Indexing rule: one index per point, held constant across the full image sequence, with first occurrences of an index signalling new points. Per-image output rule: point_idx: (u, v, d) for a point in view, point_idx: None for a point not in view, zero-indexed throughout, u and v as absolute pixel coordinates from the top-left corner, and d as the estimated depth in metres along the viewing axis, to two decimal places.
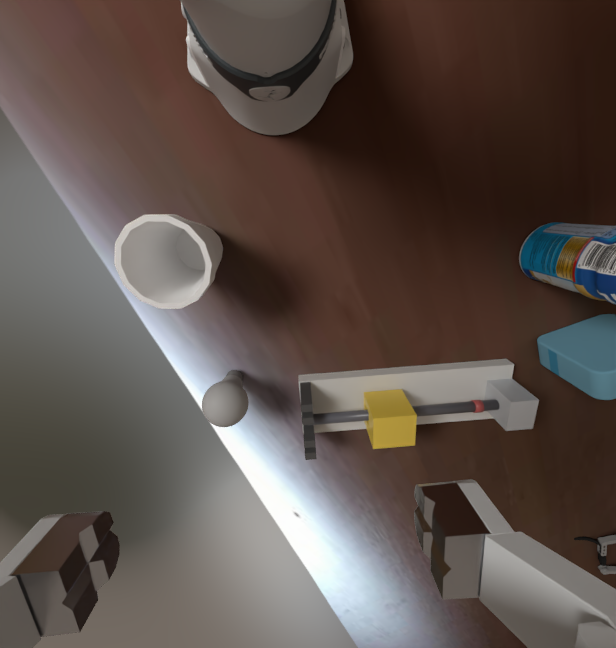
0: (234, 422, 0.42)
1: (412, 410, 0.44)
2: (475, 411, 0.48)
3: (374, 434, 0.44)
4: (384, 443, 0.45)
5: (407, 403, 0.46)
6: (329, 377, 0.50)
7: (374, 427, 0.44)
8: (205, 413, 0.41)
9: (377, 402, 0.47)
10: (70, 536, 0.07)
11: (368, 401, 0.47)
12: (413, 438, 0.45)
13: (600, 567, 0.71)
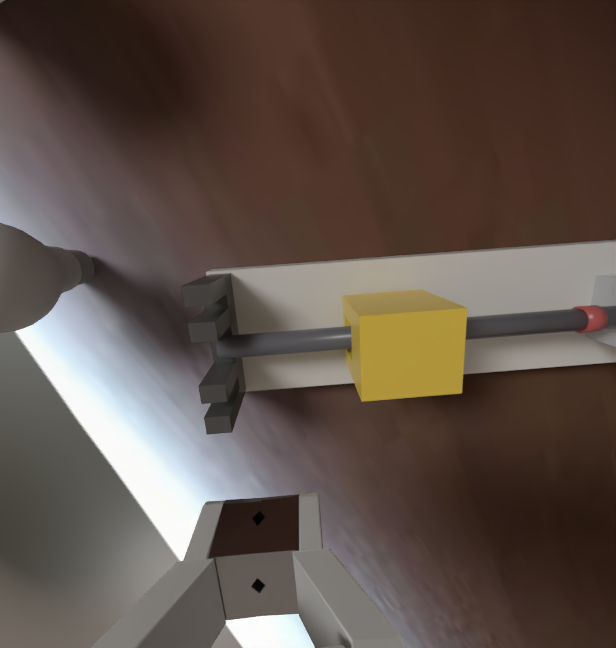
0: None
1: (453, 304, 0.18)
2: (587, 327, 0.22)
3: (363, 361, 0.18)
4: (388, 387, 0.18)
5: (439, 298, 0.20)
6: (271, 266, 0.24)
7: (362, 341, 0.18)
8: None
9: (371, 301, 0.21)
10: (245, 521, 0.07)
11: (350, 301, 0.21)
12: (458, 374, 0.18)
13: None
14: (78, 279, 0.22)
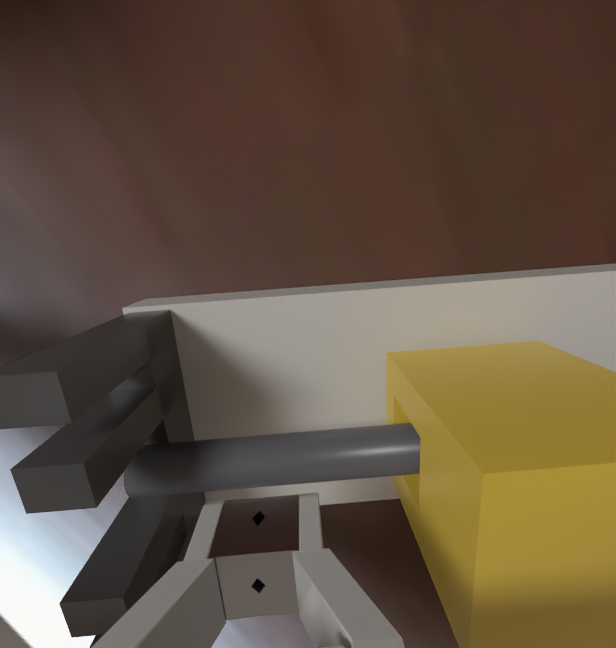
0: None
1: None
2: None
3: (481, 582, 0.07)
4: (540, 635, 0.07)
5: None
6: (250, 296, 0.13)
7: (485, 536, 0.06)
8: None
9: (463, 383, 0.09)
10: (245, 521, 0.07)
11: (415, 380, 0.10)
12: None
13: None
14: None
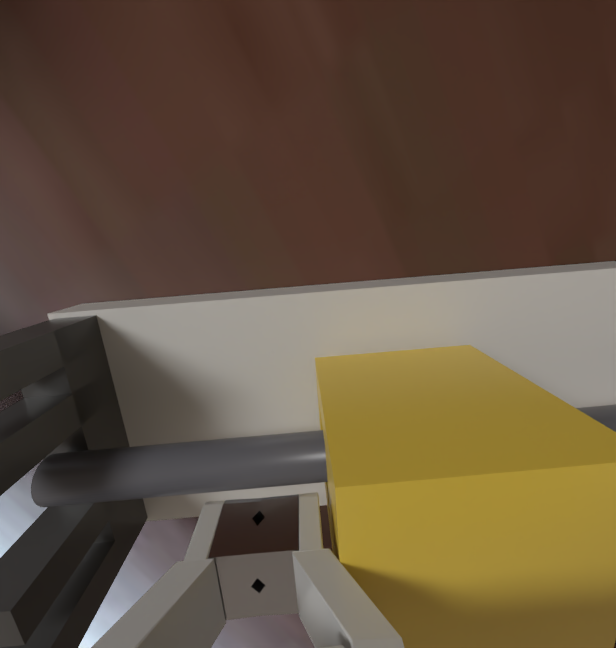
0: None
1: (594, 426, 0.07)
2: None
3: None
4: None
5: (531, 390, 0.09)
6: (180, 301, 0.13)
7: (347, 551, 0.06)
8: None
9: (371, 389, 0.09)
10: (245, 521, 0.07)
11: (326, 387, 0.10)
12: (609, 615, 0.07)
13: None
14: None
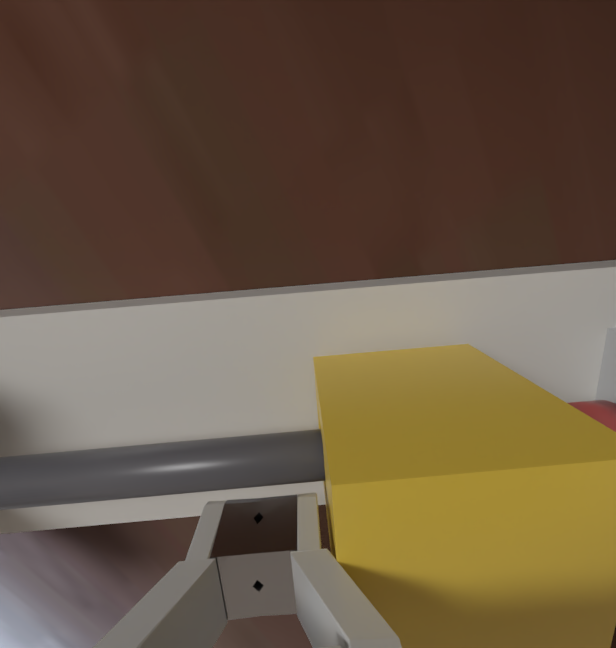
0: None
1: (591, 424, 0.07)
2: None
3: None
4: (416, 647, 0.07)
5: (529, 389, 0.09)
6: None
7: (343, 549, 0.06)
8: None
9: (369, 388, 0.09)
10: (246, 521, 0.07)
11: (324, 385, 0.10)
12: (606, 614, 0.07)
13: None
14: None
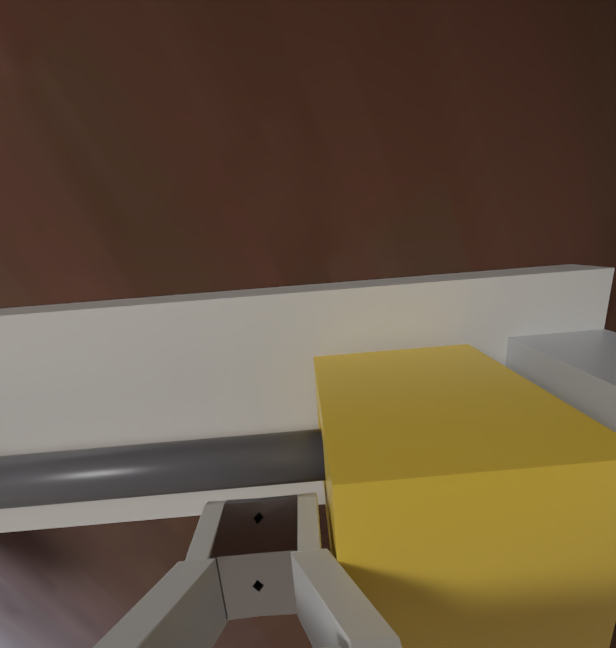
0: None
1: (591, 424, 0.07)
2: None
3: None
4: (416, 647, 0.07)
5: (529, 389, 0.09)
6: None
7: (344, 548, 0.06)
8: None
9: (369, 388, 0.09)
10: (246, 521, 0.07)
11: (324, 385, 0.10)
12: (605, 613, 0.07)
13: None
14: None
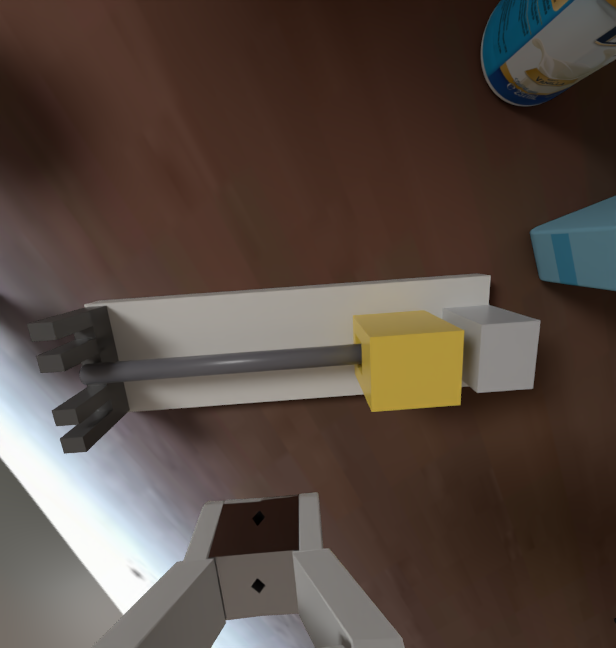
0: None
1: (452, 326, 0.21)
2: None
3: (373, 376, 0.21)
4: (395, 399, 0.21)
5: (439, 320, 0.23)
6: (145, 299, 0.27)
7: (372, 359, 0.20)
8: None
9: (379, 322, 0.23)
10: (245, 521, 0.07)
11: (361, 322, 0.24)
12: (457, 388, 0.21)
13: None
14: None
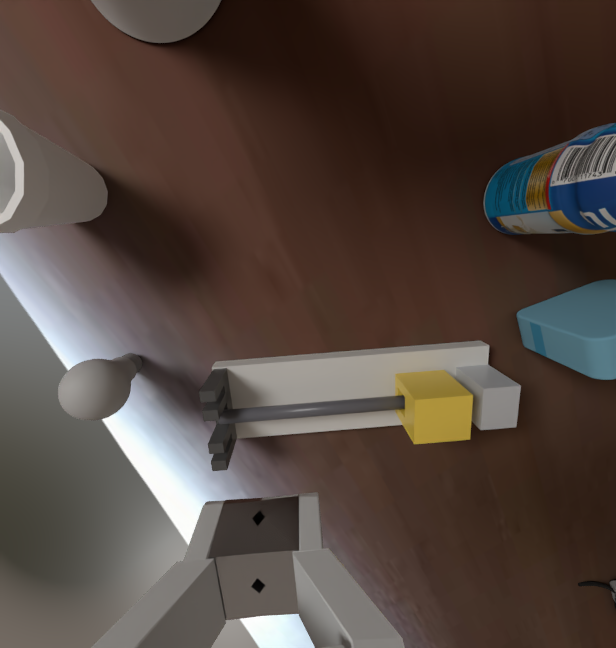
0: (100, 413, 0.30)
1: (465, 390, 0.33)
2: None
3: (415, 423, 0.33)
4: (429, 436, 0.33)
5: (456, 383, 0.35)
6: (252, 363, 0.39)
7: (416, 412, 0.33)
8: (59, 399, 0.30)
9: (416, 383, 0.36)
10: (245, 521, 0.07)
11: (403, 382, 0.36)
12: (468, 429, 0.33)
13: None
14: (134, 375, 0.37)
